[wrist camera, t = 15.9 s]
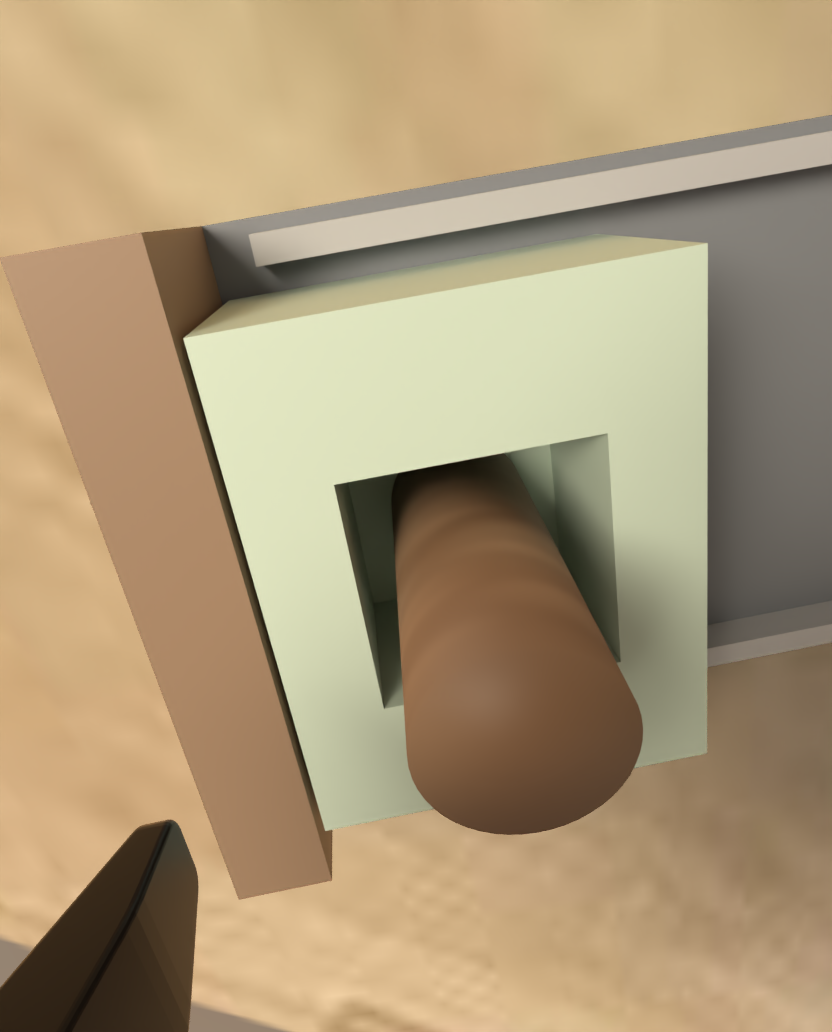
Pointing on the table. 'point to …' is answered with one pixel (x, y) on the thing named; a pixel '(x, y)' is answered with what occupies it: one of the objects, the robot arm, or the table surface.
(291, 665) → the sliding block
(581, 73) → the table surface
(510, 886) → the table surface
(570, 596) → the walnut peg
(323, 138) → the table surface
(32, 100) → the table surface
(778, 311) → the guide board
